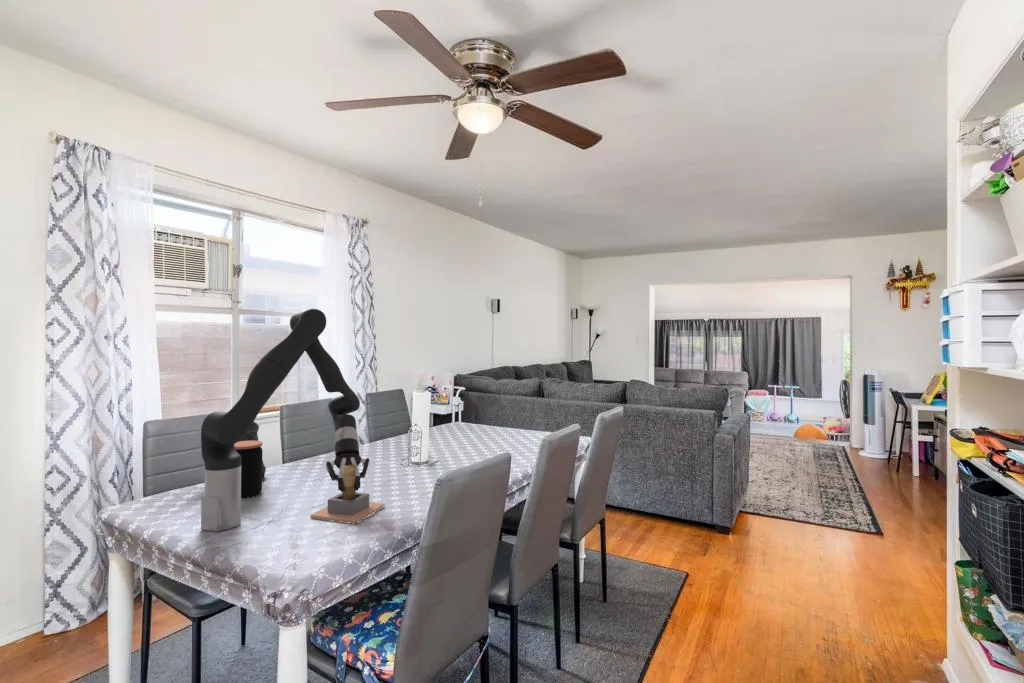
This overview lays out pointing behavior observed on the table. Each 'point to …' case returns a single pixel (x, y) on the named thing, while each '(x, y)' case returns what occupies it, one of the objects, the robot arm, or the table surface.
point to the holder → (347, 509)
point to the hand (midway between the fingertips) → (349, 489)
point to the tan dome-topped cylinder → (349, 482)
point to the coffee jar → (250, 467)
